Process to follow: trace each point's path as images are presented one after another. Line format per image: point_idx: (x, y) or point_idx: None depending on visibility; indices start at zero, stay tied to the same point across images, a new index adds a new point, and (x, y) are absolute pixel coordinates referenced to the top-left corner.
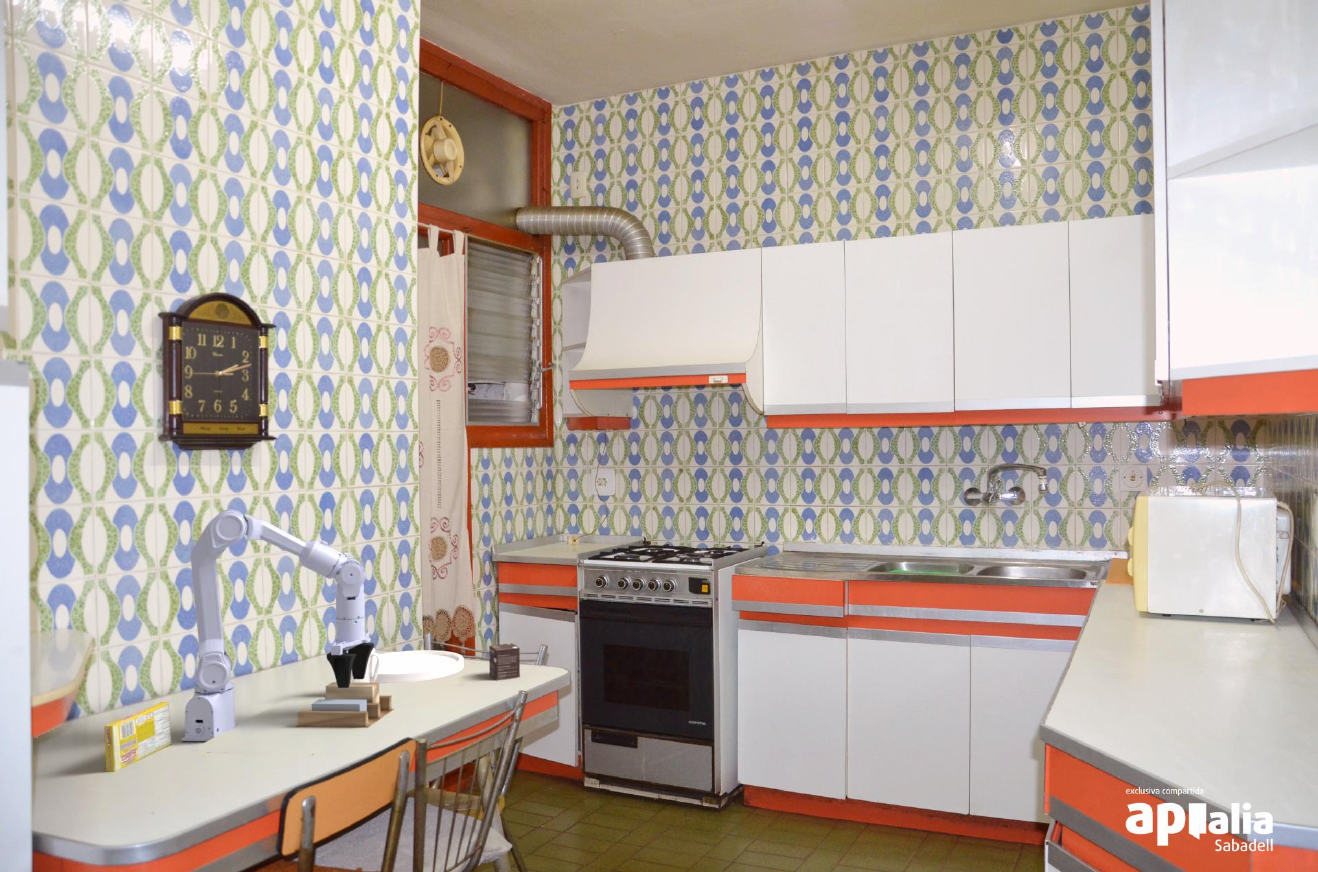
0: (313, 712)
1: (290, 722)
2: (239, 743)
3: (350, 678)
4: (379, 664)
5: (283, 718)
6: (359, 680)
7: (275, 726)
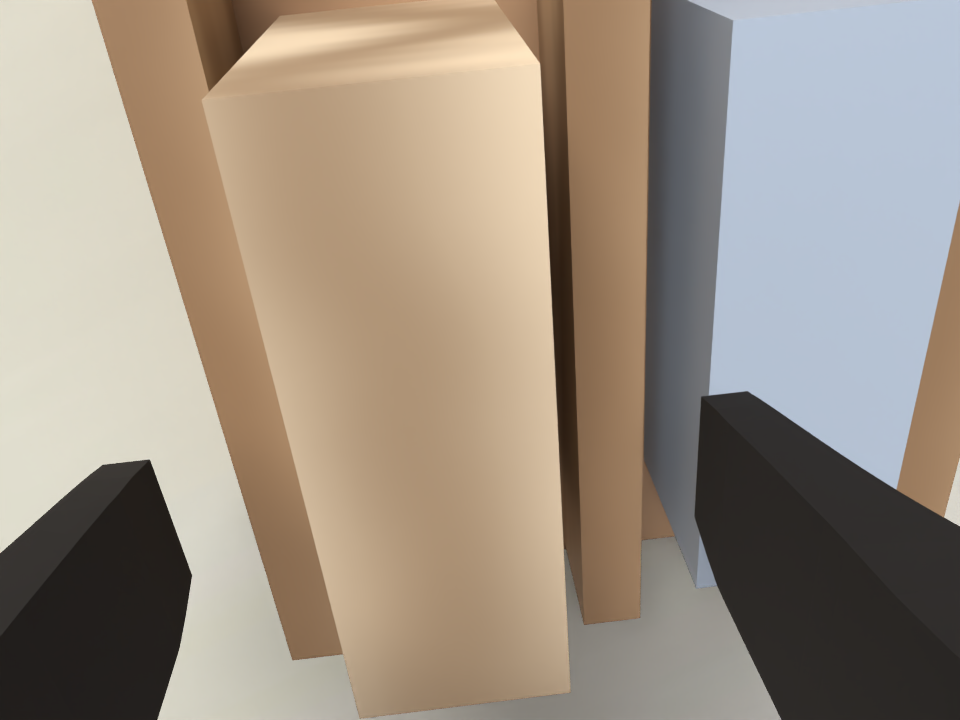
0: (954, 459)
1: (596, 630)
2: None
3: (768, 451)
4: None
5: (501, 710)
6: None
7: (698, 657)
